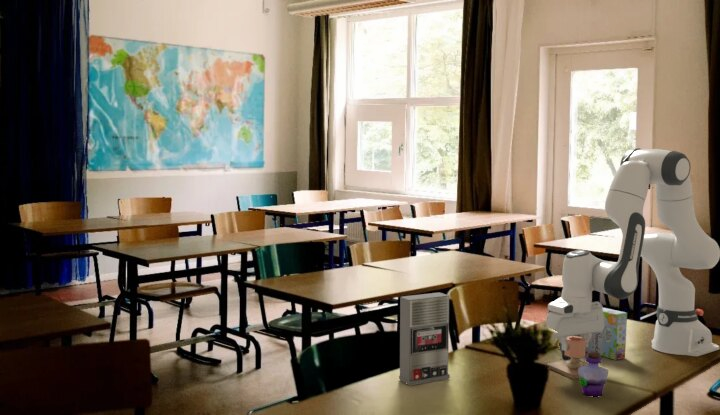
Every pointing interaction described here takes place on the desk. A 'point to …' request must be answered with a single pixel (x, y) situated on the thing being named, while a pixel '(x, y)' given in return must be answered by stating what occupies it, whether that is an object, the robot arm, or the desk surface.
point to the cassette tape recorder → (424, 338)
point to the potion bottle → (592, 375)
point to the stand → (568, 367)
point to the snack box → (610, 335)
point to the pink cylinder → (575, 347)
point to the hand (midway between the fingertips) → (574, 348)
